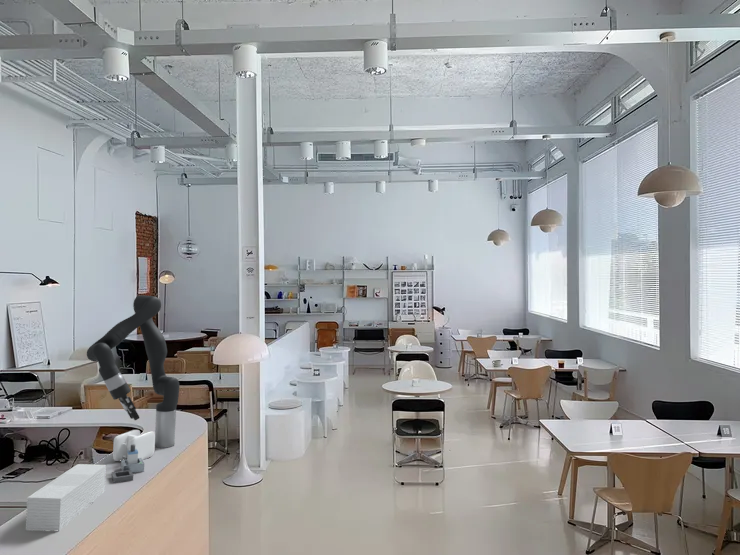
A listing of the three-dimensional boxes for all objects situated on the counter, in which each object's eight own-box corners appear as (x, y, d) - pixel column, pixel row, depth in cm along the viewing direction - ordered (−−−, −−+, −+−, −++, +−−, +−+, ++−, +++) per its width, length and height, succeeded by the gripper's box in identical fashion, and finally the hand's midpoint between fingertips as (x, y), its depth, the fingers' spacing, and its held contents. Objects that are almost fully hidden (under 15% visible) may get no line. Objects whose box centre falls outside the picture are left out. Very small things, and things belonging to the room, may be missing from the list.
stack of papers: (76, 492, 209) (77, 463, 209) (104, 493, 210) (106, 464, 210) (25, 531, 177) (27, 497, 177) (59, 532, 178) (60, 498, 178)
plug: (126, 469, 233) (127, 444, 233) (135, 468, 235) (137, 443, 235) (127, 472, 230) (128, 446, 230) (137, 470, 232) (138, 445, 232)
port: (120, 469, 234) (121, 459, 234) (140, 466, 238) (141, 456, 238) (123, 475, 227) (123, 465, 227) (144, 472, 232) (144, 462, 232)
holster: (111, 478, 224) (111, 472, 224) (130, 476, 227) (130, 469, 227) (113, 484, 218) (114, 478, 218) (132, 481, 221) (133, 475, 221)
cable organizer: (131, 466, 239) (132, 439, 239) (111, 462, 242) (112, 436, 242) (154, 456, 253) (155, 430, 253) (135, 453, 256) (136, 427, 256)
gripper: (128, 381, 232) (147, 415, 235) (122, 380, 244) (140, 412, 247) (111, 391, 228) (130, 425, 231) (106, 389, 240) (124, 422, 242)
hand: (135, 418), depth 239 cm, fingers open, 8 cm apart
